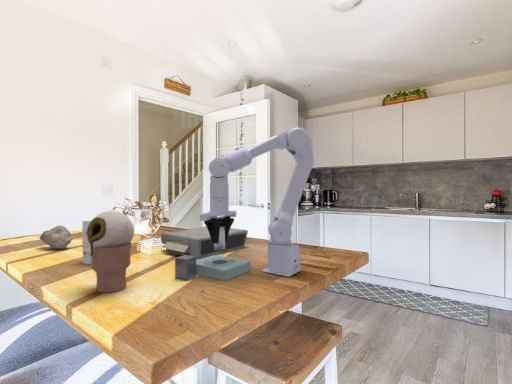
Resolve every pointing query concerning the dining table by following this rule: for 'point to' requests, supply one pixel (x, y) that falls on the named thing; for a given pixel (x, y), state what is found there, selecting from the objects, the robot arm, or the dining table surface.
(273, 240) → the robot arm
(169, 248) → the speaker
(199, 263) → the socket block
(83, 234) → the ink box
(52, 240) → the stone
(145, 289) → the dining table surface
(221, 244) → the round bit
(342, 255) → the dining table surface
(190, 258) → the square bar
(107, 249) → the ice cream cone
